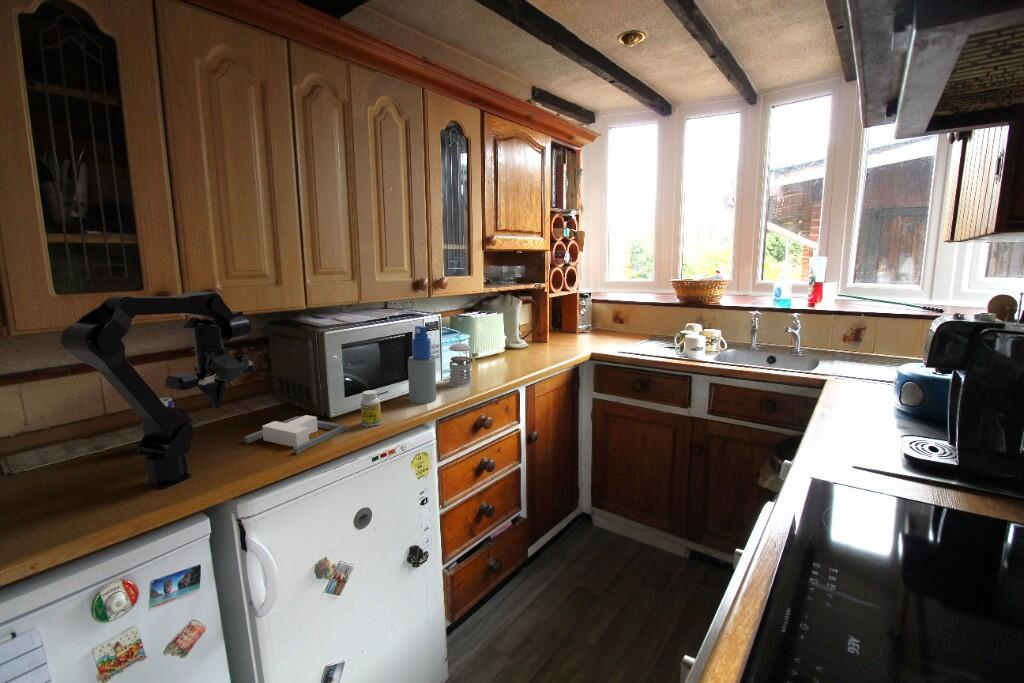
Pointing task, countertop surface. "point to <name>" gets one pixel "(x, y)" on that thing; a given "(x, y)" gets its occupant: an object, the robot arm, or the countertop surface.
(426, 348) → the spray bottle
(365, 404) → the supplement bottle
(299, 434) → the t block
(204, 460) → the countertop surface
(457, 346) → the french press
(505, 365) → the countertop surface
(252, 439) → the grey rectangular rod frame
